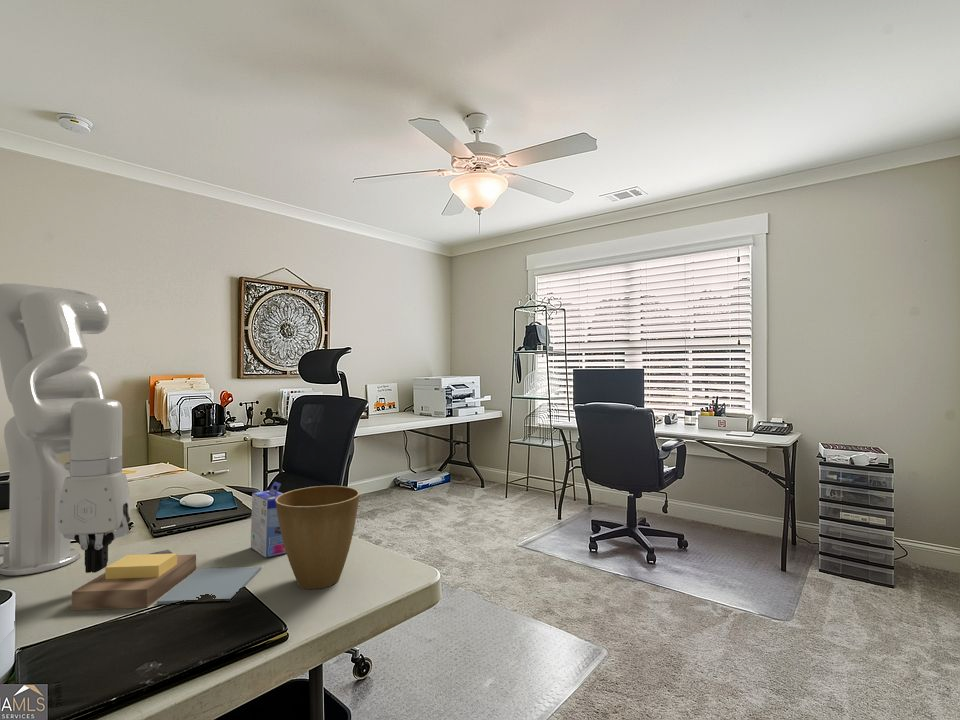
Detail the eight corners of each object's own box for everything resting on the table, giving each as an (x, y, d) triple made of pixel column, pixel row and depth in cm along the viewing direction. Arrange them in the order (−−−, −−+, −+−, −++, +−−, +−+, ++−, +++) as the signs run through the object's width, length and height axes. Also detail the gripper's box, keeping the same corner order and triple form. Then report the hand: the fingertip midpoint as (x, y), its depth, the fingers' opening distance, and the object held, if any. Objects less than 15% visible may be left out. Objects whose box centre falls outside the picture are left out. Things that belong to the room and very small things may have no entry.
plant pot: (265, 579, 94) (265, 493, 94) (341, 560, 103) (341, 482, 103) (289, 607, 82) (289, 510, 83) (373, 583, 91) (372, 495, 92)
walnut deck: (71, 610, 82) (71, 591, 82) (133, 571, 98) (133, 556, 98) (147, 607, 83) (147, 589, 83) (196, 569, 99) (196, 554, 99)
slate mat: (156, 604, 84) (157, 601, 84) (198, 571, 98) (198, 568, 98) (230, 601, 85) (230, 598, 85) (261, 569, 99) (261, 566, 99)
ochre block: (105, 578, 87) (105, 567, 88) (127, 565, 93) (127, 555, 94) (158, 577, 88) (158, 565, 88) (177, 564, 94) (177, 553, 94)
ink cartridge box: (292, 552, 108) (292, 485, 108) (266, 559, 104) (266, 489, 105) (275, 541, 115) (274, 478, 116) (249, 547, 111) (249, 482, 112)
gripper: (36, 473, 87) (35, 580, 86) (126, 470, 87) (125, 576, 87) (69, 465, 94) (69, 563, 94) (151, 462, 95) (151, 560, 94)
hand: (96, 569), depth 90 cm, fingers closed
